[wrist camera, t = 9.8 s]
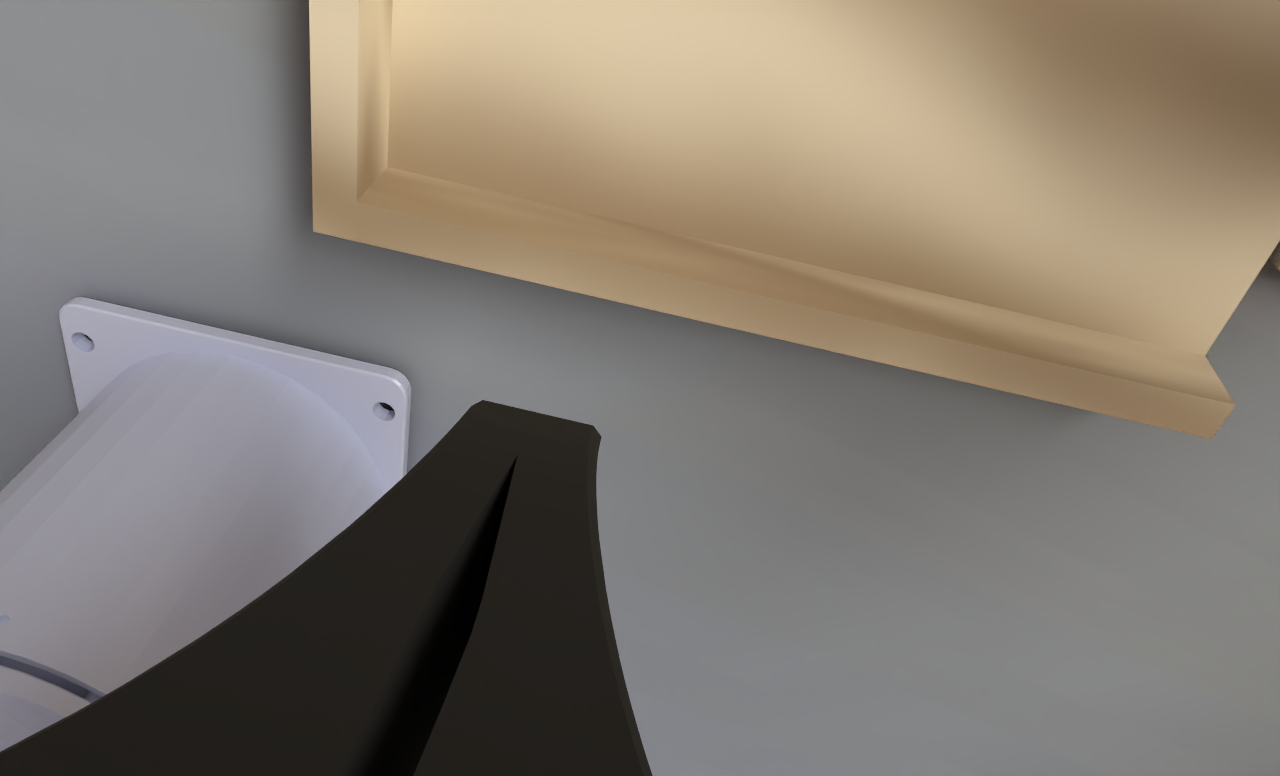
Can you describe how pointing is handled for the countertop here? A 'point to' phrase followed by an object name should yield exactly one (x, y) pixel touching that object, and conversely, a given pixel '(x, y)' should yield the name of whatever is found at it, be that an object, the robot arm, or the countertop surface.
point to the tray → (836, 171)
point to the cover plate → (1276, 256)
